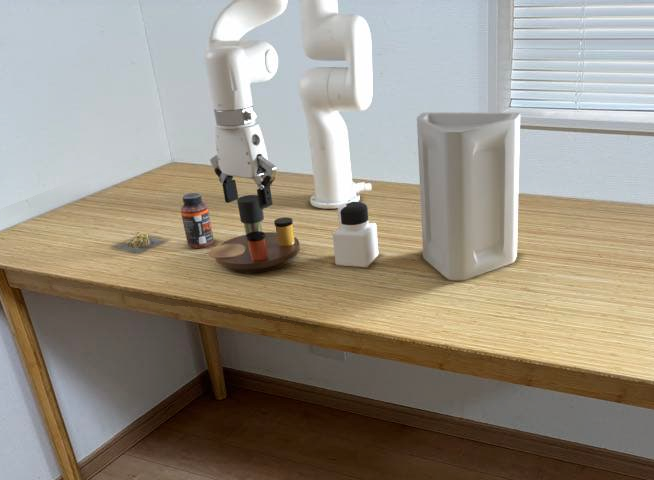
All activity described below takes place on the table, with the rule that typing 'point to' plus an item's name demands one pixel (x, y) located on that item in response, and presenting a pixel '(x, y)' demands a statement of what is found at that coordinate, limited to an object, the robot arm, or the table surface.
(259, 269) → the rack base
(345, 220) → the medicine bottle
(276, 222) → the spice rack
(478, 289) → the table surface
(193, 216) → the supplement bottle
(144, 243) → the dice set
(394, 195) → the table surface
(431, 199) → the white triangular tub
